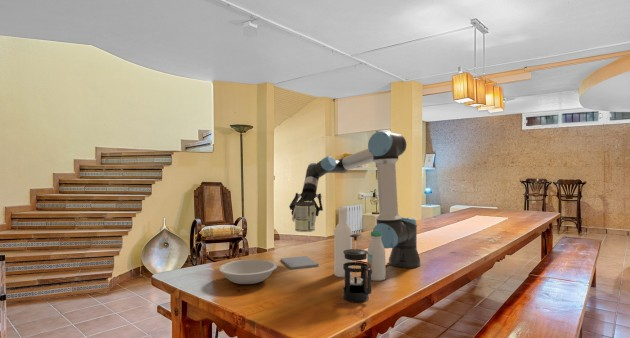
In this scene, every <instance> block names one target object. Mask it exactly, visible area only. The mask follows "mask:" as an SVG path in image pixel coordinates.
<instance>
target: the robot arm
mask: <svg viewBox="0 0 630 338" xmlns="http://www.w3.org/2000/svg"><path fill="white" fill-rule="evenodd" d="M406 150H407V140H406V138H405V137H404V136H403V135H402V134H401V133H398V132H390V131H385V130H384V131H382V130H380V131H376V132H374V133H373V134H372V135H371V136H370V138H369V140H368V143H367V149H363V150H361V151H358V152H355V153H353V154H350V155H348V156H344V157H342V158H339V159H335V158H334V157H332V156H331V155H326V156H325V157H323V158H322V159H321V160H320V161H318V162H316V163H315V162H311V163H309V164H308V165H307V169H306V171H305V177H304V182H303V188H302V190H301V193H298V192H295V195H294V198H293V199H292V200H291V203H290V204H289V206H288V207H289V210H290V211H291V212H290V213H291V216H292V217H291V220H292V222H293V223H295V203H296V202H315V211H314V216H313V222H315V223H316V219H317V217H318V216H319V214H320V211H324V209H323V204H322V193H317V191H318V186H319V180H320V178H321V177H323V176H324V175H326V174H334V173H335V174H339V173H340V174H343V173H347V172H348V171H349V170H352V169H355V168H359V167H362V166H365V165H367V164H371V163H374V164H375V165H376V172H377V173H376V174H377V189H378V190H377V193H378V195H377V196H378V211H379V215H378V216H377V217H376V225H375V226H374V228H373V229H372V231H379V232H381V233H382V236H381V241H382V244H383V246H384V249H391V251H390V254H389V258H388V264H389V265H390V266H392V267H397V268H402V269H404V268H405V269H409V268H410V269H411V268H412V269H413V268H418V267H420V266H421V259H420V255H419V252H418V249H417V248H418V247H417V246H418V245H417V235H418V234H417V233H418V232H417V227H418V226H417V220H416V219H415V218H411V217H403V216H402V217H401V216H400V214H399V207H398V206H399V205H398V203H399V202H398V190H397V189H398V188H397V169H396V168H397V166H396V163H397V162H398V161H399V157H400V156H401V155H403V154H404V153H405V151H406ZM316 198H317V200H318V203H319V206H318V204H317V201H316V200H315V199H316Z"/></svg>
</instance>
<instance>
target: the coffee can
mask: <svg viewBox="0 0 630 338" xmlns="http://www.w3.org/2000/svg"><path fill="white" fill-rule="evenodd" d="M315 202H316V201H315ZM315 202H312V201H311V202H309V201H305V202H298V201H297V202H296V203H295V221H294V223H295V225H294V227H295V229H294V230H295V232H299V233H311V232H315V230H316V221H315V222H313V216H314V211H315V209H316V208H315Z"/></svg>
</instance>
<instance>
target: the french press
mask: <svg viewBox="0 0 630 338" xmlns="http://www.w3.org/2000/svg"><path fill="white" fill-rule="evenodd" d="M350 237H352V238H353V240H354V248H352V249H349V250H344V251H343V253H344V257H345V259H348V260H352V262H348V263H345V264H343V269H344V270H345V277H344V279H343V281H344V287H343V289H342V290H343V291H342V292H343V293H342V299H343V300H344V301H346V302H348V303H352V304H353V303H355V304H356V303H357V304H360V303H365V302H368V301H369V299H370V298H369V295H370V294H372V280H371V269H370V268H368V265H367V263H366V262H359V261H364V260H367V254H368V252H367V251H368V250H365V249H360V248H359V249H358V248H357V241H358V240H357V238H361V237H362V235H360V234H352V235H350ZM348 266H352V268H348ZM353 266H355V267H354V268H353ZM357 266H359V267H360V268H359V267H358V268H357ZM367 271H368V277H367ZM350 272H352V273H354V276H350ZM357 273H360V277H359V276H357Z"/></svg>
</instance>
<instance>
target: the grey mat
mask: <svg viewBox="0 0 630 338" xmlns="http://www.w3.org/2000/svg"><path fill="white" fill-rule="evenodd" d="M280 261H281V263H283V264H284V265H285V266H286V267H288V268H289V269H290V270H297V269H306V268H316V267H317V268H318V267H319V266H320V265H319V263H317V262H316V261H315V260H313V259H311V258H310V257H308V256H306V255H301V256H293V257H292V256H291V257H282V258H281V257H280Z"/></svg>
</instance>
